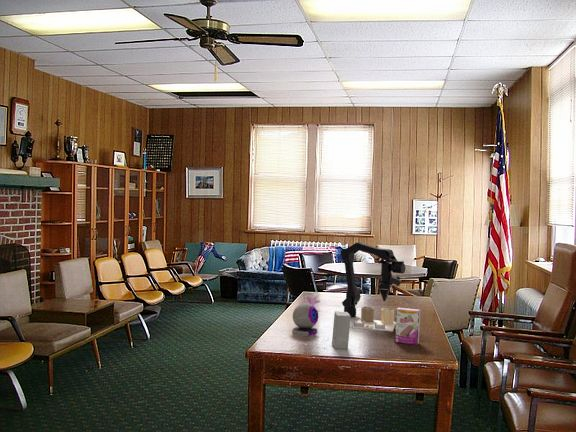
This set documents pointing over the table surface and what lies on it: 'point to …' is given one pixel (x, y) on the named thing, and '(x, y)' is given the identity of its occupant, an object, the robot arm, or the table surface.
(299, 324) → the eyeball
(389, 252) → the robot arm
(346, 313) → the skincare box
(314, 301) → the lily
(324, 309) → the table surface
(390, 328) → the board
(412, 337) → the candy bar box
